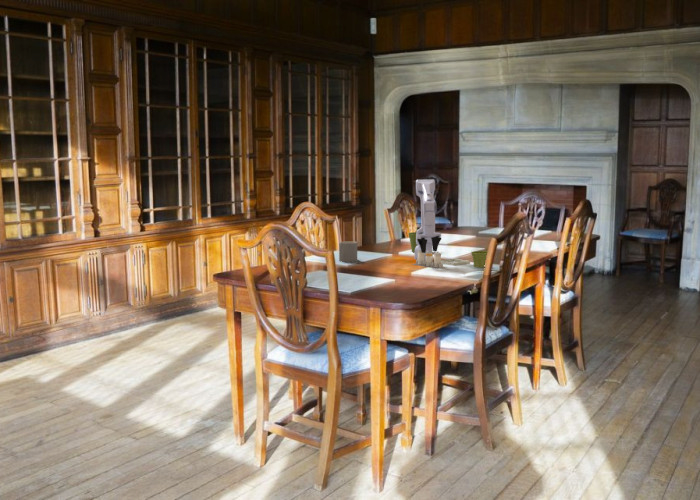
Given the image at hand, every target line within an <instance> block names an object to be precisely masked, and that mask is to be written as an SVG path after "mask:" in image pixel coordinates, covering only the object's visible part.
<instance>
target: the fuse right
mask: <svg viewBox="0 0 700 500" xmlns="http://www.w3.org/2000/svg"><path fill="white" fill-rule="evenodd" d="M441 260H442V253H441V252H434V253H433V262H434V268H433V269H435V268H439V264H441Z"/></svg>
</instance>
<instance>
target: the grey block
mask: <svg viewBox="0 0 700 500" xmlns="http://www.w3.org/2000/svg"><path fill="white" fill-rule="evenodd" d="M338 260H339V262H341V261H342V262H343V263H351V262H350V261H355V262H357V261H358V241H349V240H348V241H347V240H346V241H340V242H338ZM342 262H341V263H342Z"/></svg>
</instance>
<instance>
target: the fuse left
mask: <svg viewBox="0 0 700 500" xmlns="http://www.w3.org/2000/svg"><path fill="white" fill-rule="evenodd" d="M422 261H425V253H422V251H421V250H419V251H418V265H422ZM418 265H417V266H418Z"/></svg>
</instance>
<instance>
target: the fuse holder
mask: <svg viewBox="0 0 700 500" xmlns="http://www.w3.org/2000/svg"><path fill="white" fill-rule="evenodd" d="M411 265H412V266H418V267H424V268H430V269H435V270H439V269H446V268H448V267H447V266H444V264H439V268H434V261H433V262H431V263H430V266H426V261H422V265H418V260H417V259H415V263H412V264H411Z"/></svg>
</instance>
